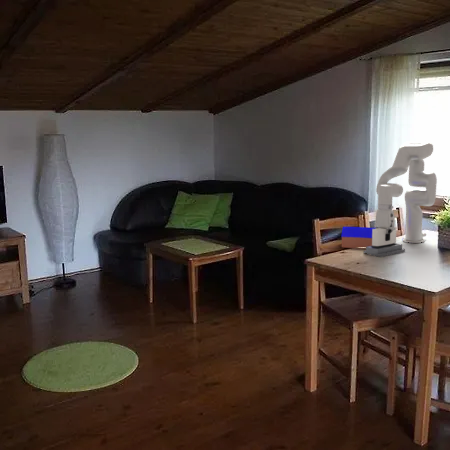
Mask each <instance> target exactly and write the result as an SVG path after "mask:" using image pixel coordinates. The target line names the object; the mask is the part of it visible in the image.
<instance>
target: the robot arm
mask: <svg viewBox="0 0 450 450" xmlns="http://www.w3.org/2000/svg"><path fill="white" fill-rule="evenodd" d="M433 153H434V145H433V143H432V142H430V141H406V142H404V143H403V145H401V146H400V147H399V149H398V150H397V152H396V155H395V158H394V160H393V161H394V162H393V163H392V166H391V167H390V168H388V169H387V170H386V171H384V172H383V173H382V174H381V176H380V177H379V179H378V181H377V185H376V189H375V191H376V194H377V210H376V213H375V214H376V215H375V223H374V226H373V228H386V233H387V234H385V241H389V240H390V233H391V232H392V231H393V230H395V227H396V224H395V223H396V221H395V211H394V210H393V209H394V206H393V198H398V197H400V196H401V195H403V192H404V187H403V185H401V184H400V183H389V181H391V180H392V179H394V178H397V177H399V176H402V175H405V174H406V173H407V172H408V185H409V186H410V187H413V188H412V189H408V190H406V192H404V204H405V235H404V237H403V238H402V242H404V243H408V242H409V244H410V243H411V244H420V243H421V242H422V243H425V238H424V237H426V236H427V233H423V214H424V213H423V209H422V208H421V206H422V207H432V206H433V205H434V204H435V202H436V195H437V183H438V181H437V180H438V179H437V175H436V173H435V172H434V171H429V170H428V171H427V170H426V171H425V161H424V160H425V159H427V158H428V157H429V158H430V156H431V155H432V154H433ZM414 188H415V189H414ZM416 188H417V189H416ZM418 188H425V189H418ZM388 229H389V231H388Z"/></svg>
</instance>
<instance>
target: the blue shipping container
mask: <svg viewBox="0 0 450 450" xmlns="http://www.w3.org/2000/svg"><path fill="white" fill-rule="evenodd" d="M372 229H376V228H375V227H366V226H363V227H362V226H343V227H342V231H341V234H340V237H341V248H343V249H344V248H349V249H357V248H356V247H368V246H373V245H372Z"/></svg>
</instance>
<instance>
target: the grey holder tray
mask: <svg viewBox="0 0 450 450" xmlns="http://www.w3.org/2000/svg"><path fill="white" fill-rule="evenodd" d="M405 252H406V250H405V248H403V244H402V243H397V242H396V243H392V244H387V245H382V246H368V247H366V249H364V250H363V254H364V253H367V254H366V255H368V254H371V255H370V256H373V255H375V256H374V257H378V256H379V257H378V258H382V257H383V258H384V257H388V256H391V254H392V255H396V253H397V254H400V253H401V254H402V253H405ZM387 255H388V256H387Z"/></svg>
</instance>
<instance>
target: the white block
mask: <svg viewBox="0 0 450 450" xmlns="http://www.w3.org/2000/svg"><path fill="white" fill-rule="evenodd" d="M388 231H389V229H388ZM385 234H387V233H386V228H376V229H372V245H373V246H382V245H387V244H392V243H397V227H396V226H395V230H393V231H392V232H391V233H390V240H389V241H385Z"/></svg>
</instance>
